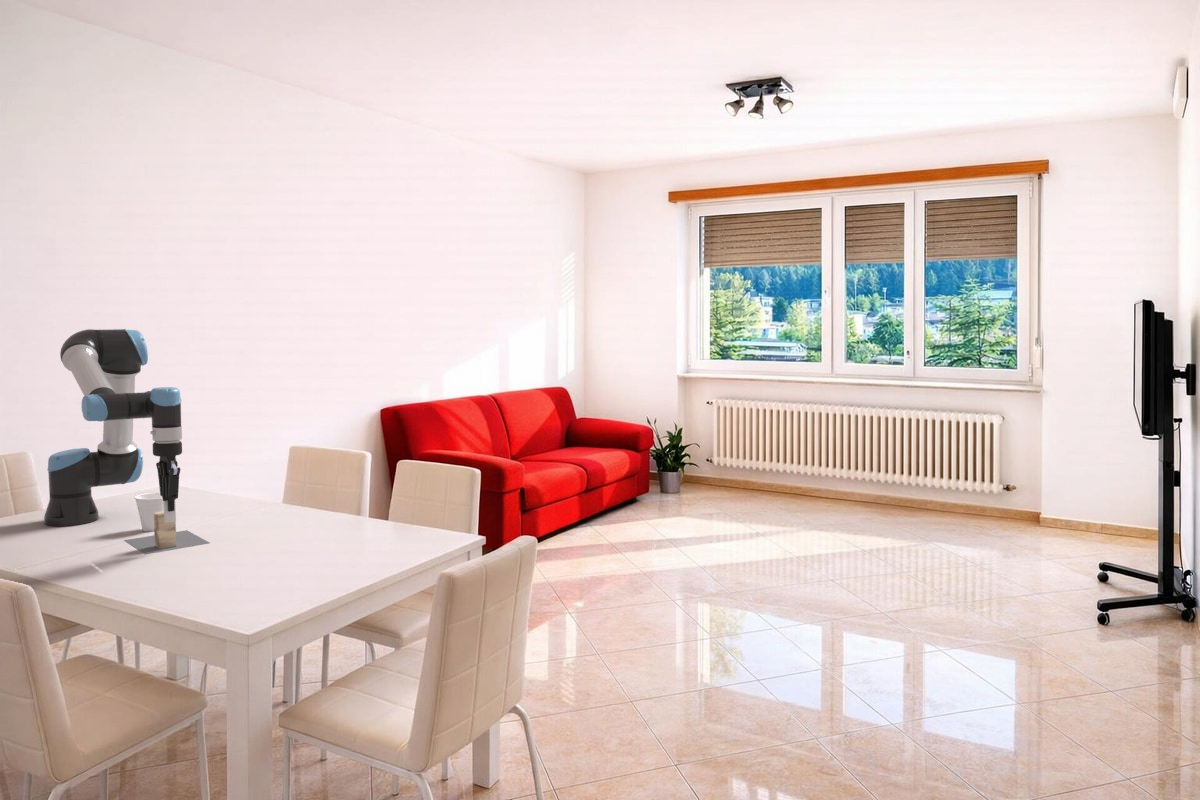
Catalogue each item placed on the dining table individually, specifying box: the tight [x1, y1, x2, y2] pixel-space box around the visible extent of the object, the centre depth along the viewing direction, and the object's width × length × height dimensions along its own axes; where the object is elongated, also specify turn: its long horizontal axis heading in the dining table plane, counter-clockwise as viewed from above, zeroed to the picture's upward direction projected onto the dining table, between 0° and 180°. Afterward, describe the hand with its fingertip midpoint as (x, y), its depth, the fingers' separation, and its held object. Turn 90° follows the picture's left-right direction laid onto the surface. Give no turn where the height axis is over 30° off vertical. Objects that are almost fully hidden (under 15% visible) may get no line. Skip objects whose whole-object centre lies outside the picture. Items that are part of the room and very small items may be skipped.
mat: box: [123, 529, 211, 555], centre depth 250 cm, size 20×18×1 cm
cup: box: [134, 492, 164, 533], centre depth 265 cm, size 10×10×11 cm
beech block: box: [153, 511, 177, 549], centre depth 245 cm, size 4×4×10 cm
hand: (169, 521), depth 241 cm, fingers closed
